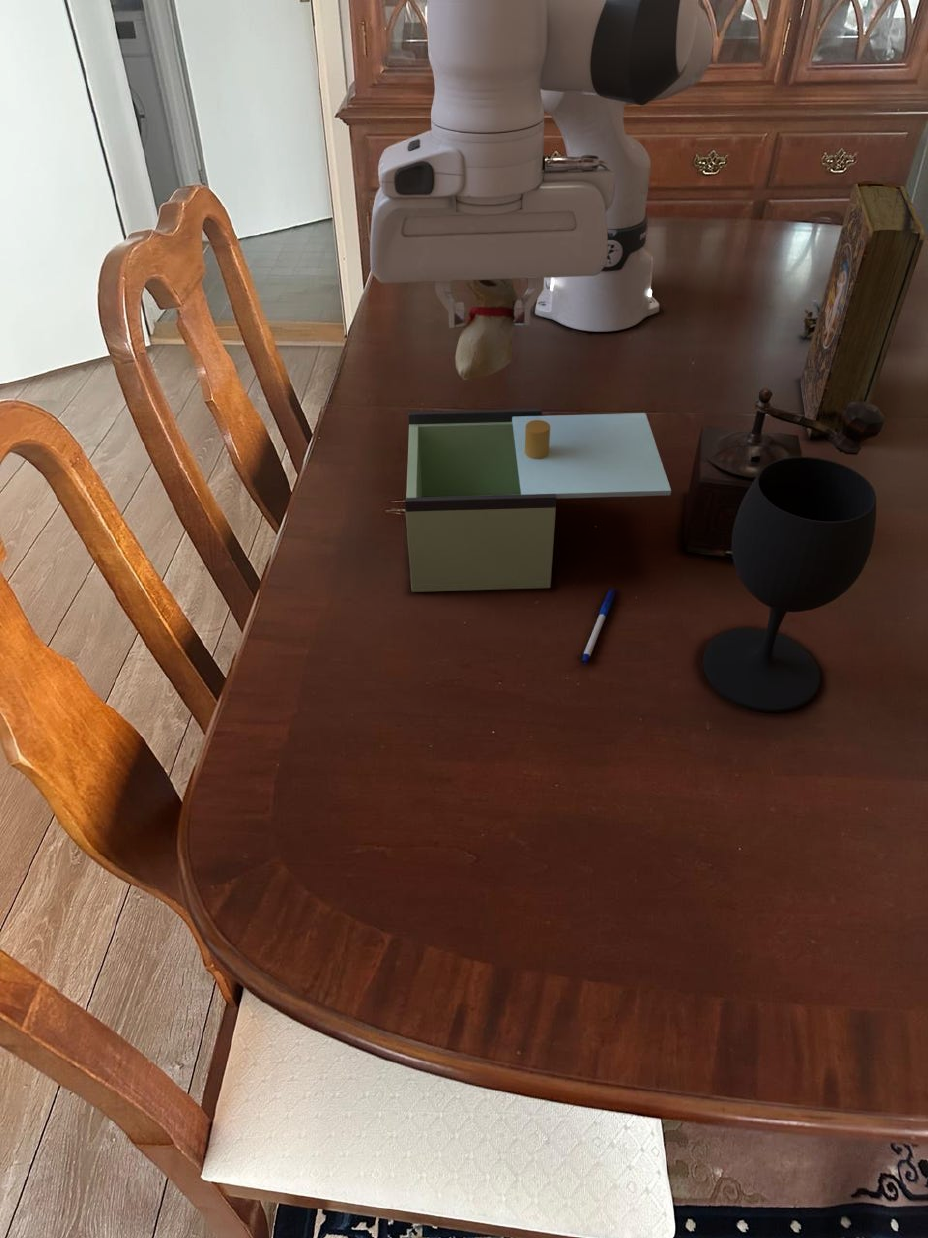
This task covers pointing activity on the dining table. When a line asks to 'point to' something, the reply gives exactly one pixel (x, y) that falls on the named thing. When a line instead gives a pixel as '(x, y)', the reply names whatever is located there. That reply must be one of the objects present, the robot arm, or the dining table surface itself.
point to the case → (473, 505)
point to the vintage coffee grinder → (754, 466)
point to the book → (861, 300)
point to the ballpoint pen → (598, 625)
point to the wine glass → (790, 574)
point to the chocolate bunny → (487, 330)
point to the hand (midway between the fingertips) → (488, 324)
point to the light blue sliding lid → (588, 456)
